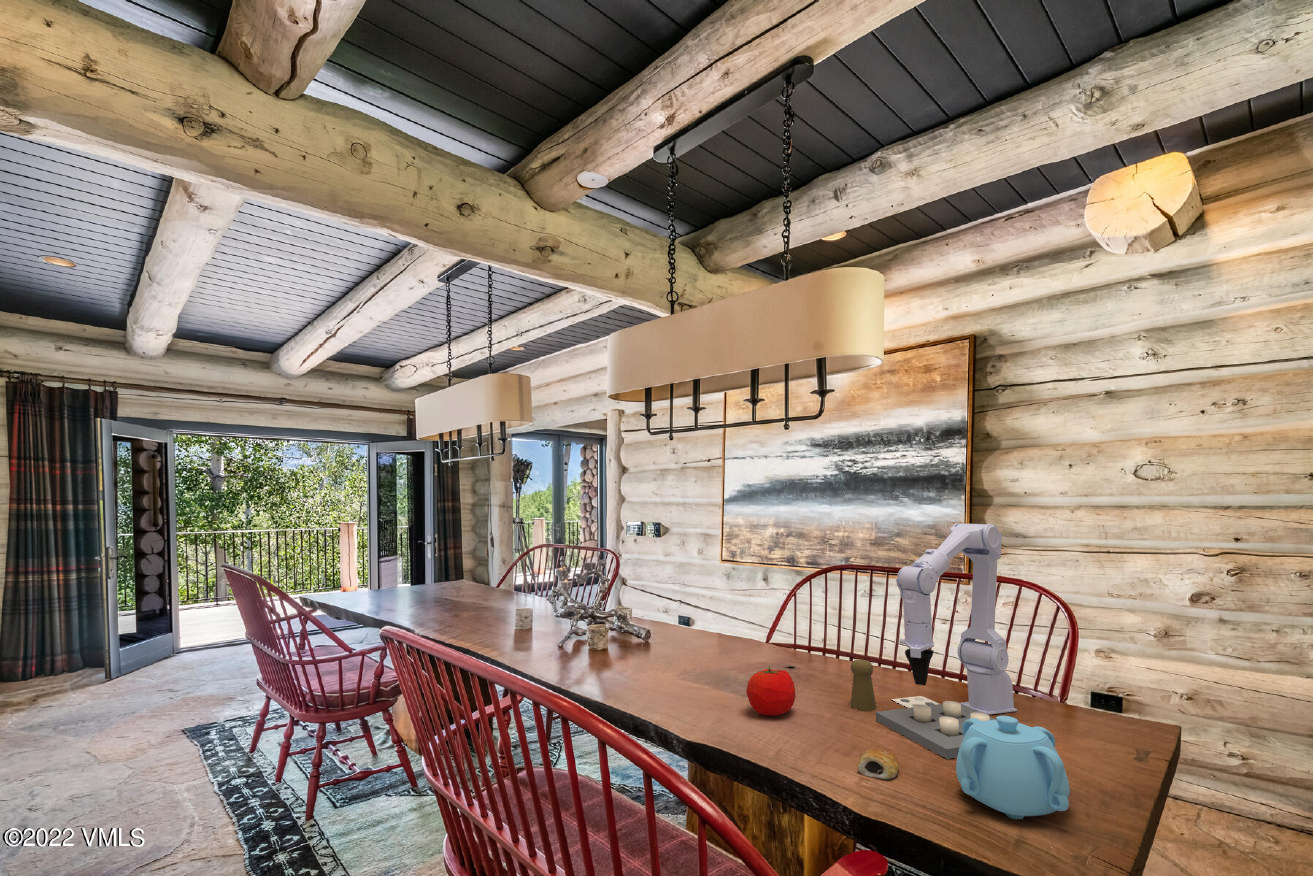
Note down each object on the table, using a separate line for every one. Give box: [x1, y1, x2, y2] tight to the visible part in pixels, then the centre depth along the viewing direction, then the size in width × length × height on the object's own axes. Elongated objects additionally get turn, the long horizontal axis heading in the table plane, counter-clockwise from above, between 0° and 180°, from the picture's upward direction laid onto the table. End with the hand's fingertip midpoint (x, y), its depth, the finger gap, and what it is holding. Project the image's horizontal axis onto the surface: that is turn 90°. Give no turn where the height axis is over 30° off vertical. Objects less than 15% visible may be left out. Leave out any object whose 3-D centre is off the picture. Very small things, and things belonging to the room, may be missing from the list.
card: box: [890, 695, 940, 708], centre depth 151 cm, size 9×8×1 cm
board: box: [875, 703, 996, 760], centre depth 132 cm, size 22×22×2 cm
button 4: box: [939, 716, 959, 737], centre depth 127 cm, size 4×4×3 cm
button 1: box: [942, 700, 962, 719], centre depth 137 cm, size 4×4×3 cm
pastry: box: [856, 748, 900, 780], centre depth 115 cm, size 9×7×4 cm
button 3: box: [913, 704, 932, 723], centre depth 135 cm, size 4×4×3 cm
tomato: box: [745, 665, 796, 717], centre depth 146 cm, size 11×13×10 cm
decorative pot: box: [955, 715, 1071, 820], centre depth 102 cm, size 16×16×14 cm
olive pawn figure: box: [850, 659, 877, 712], centre depth 149 cm, size 6×6×11 cm
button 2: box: [970, 712, 991, 721], centre depth 130 cm, size 4×4×3 cm
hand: (920, 684), depth 136 cm, fingers closed
